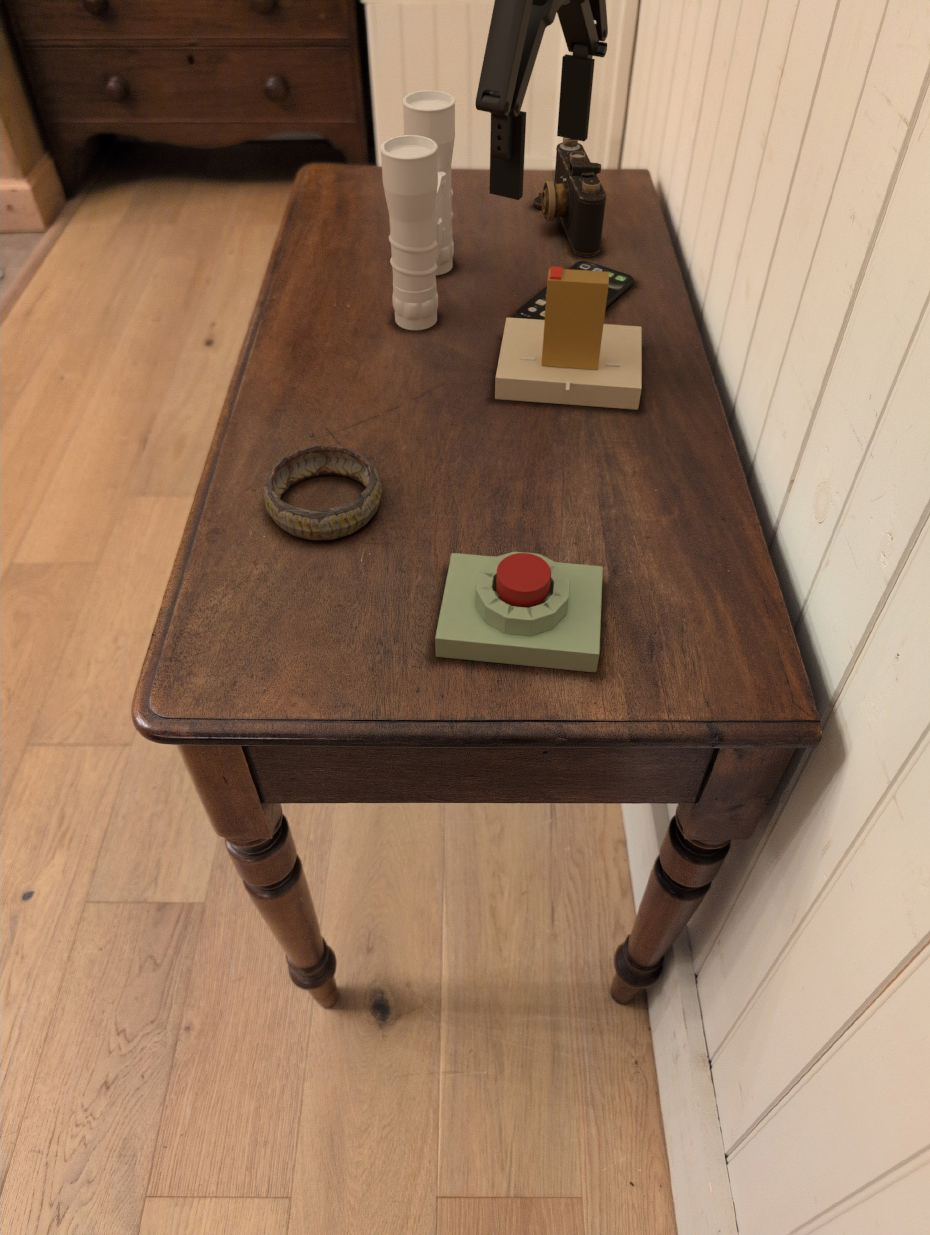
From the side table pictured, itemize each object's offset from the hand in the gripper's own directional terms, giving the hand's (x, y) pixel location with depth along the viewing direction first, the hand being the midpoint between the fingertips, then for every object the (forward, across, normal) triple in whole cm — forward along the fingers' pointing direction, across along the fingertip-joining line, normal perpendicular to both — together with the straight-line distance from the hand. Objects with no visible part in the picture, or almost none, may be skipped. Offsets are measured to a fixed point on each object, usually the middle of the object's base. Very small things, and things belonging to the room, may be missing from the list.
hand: (540, 165), depth 80 cm
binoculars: (+20, -7, -16) cm, 26 cm away
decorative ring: (+20, +29, -6) cm, 35 cm away
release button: (+16, +33, +15) cm, 39 cm away
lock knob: (+17, +2, +5) cm, 18 cm away
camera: (+20, -29, -9) cm, 36 cm away
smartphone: (+20, -13, 0) cm, 23 cm away
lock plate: (+20, 0, +4) cm, 20 cm away
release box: (+20, +32, +15) cm, 41 cm away
